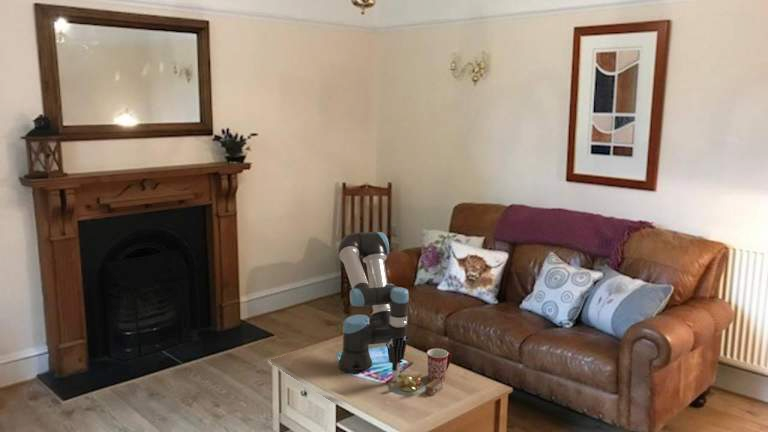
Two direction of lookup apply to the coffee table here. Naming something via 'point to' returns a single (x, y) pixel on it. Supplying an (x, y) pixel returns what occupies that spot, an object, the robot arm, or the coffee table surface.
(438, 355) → the mug
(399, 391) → the stand plate
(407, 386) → the cam capstan
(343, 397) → the coffee table surface
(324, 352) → the coffee table surface
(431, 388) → the brown angular block
